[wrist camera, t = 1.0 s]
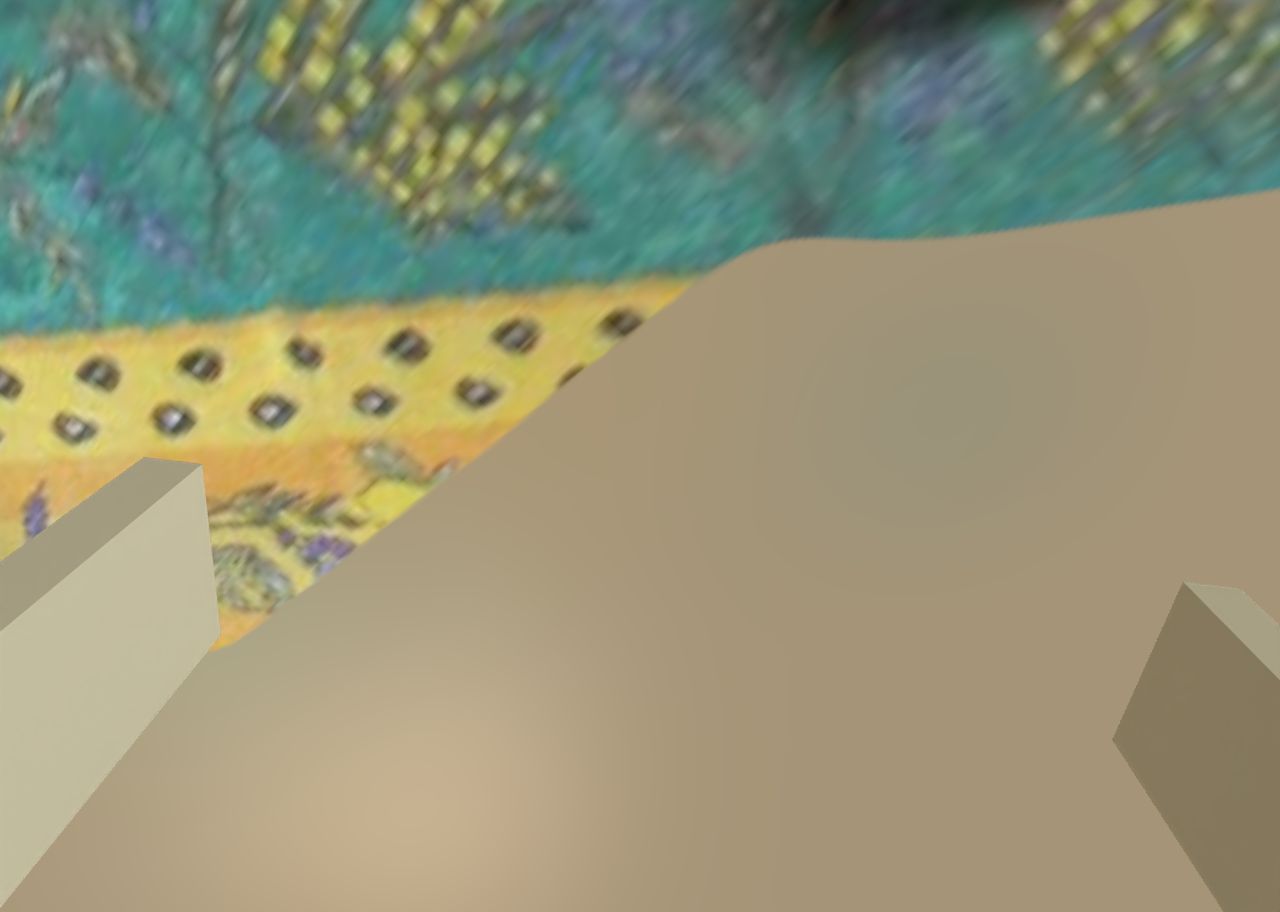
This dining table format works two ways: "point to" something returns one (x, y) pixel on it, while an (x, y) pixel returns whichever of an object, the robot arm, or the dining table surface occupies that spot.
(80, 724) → the robot arm
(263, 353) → the dining table surface
